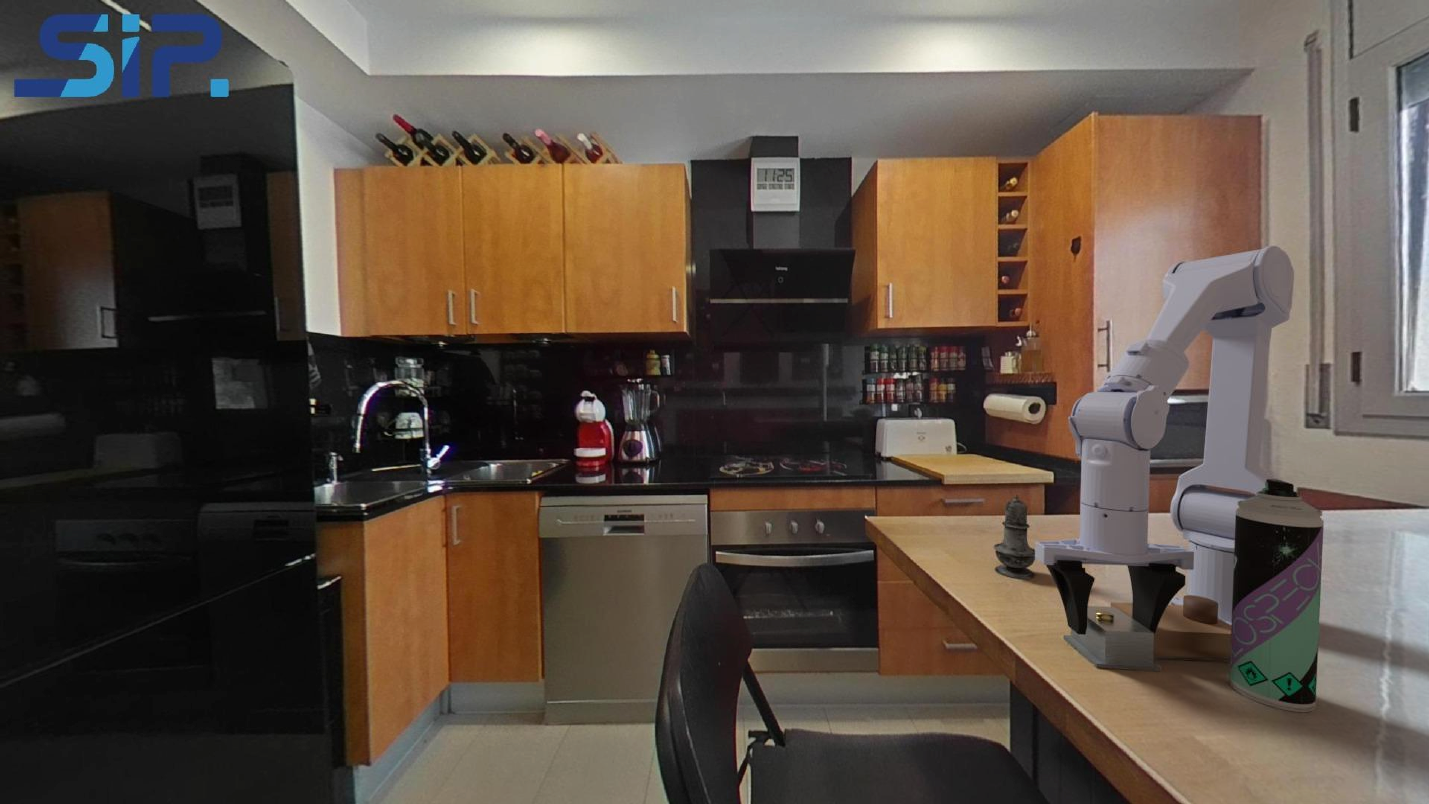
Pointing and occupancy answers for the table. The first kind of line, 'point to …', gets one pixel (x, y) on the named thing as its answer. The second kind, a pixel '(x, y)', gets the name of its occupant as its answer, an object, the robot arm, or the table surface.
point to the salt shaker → (1015, 543)
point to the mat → (1098, 662)
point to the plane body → (1189, 631)
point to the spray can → (1276, 598)
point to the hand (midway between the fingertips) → (1109, 631)
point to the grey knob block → (1116, 638)
